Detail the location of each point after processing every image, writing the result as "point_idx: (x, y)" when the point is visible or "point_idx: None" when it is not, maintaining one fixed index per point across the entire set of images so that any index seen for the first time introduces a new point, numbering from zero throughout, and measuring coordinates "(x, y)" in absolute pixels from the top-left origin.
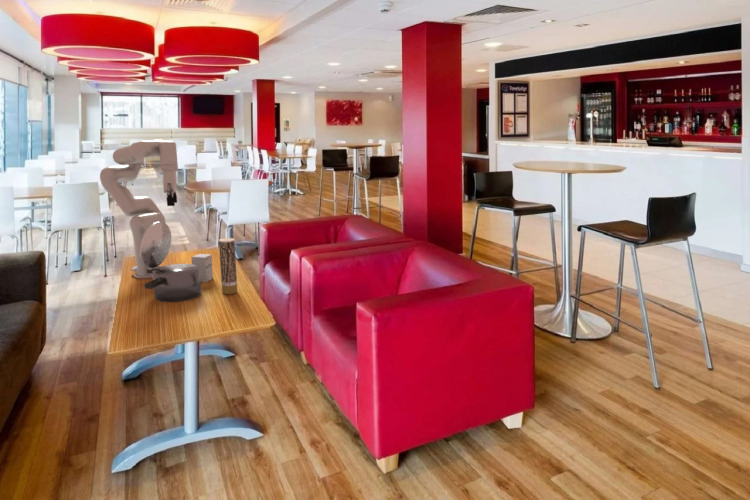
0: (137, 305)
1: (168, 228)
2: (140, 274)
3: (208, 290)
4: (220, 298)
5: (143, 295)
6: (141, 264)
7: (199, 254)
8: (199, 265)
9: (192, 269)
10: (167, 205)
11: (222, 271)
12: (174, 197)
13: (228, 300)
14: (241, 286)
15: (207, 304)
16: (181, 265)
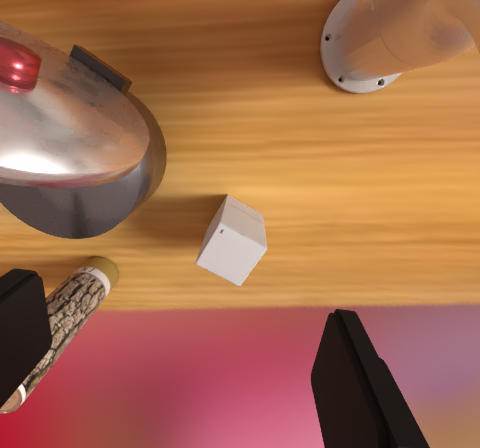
0: (17, 28)
1: (42, 182)
2: (345, 12)
3: (131, 227)
4: (60, 247)
5: (117, 42)
6: (354, 8)
7: (251, 250)
8: (208, 233)
9: (50, 217)
10: (16, 270)
11: (52, 292)
12: (336, 439)
13: (43, 262)
14: (149, 298)
15: (16, 217)
16: (112, 183)
